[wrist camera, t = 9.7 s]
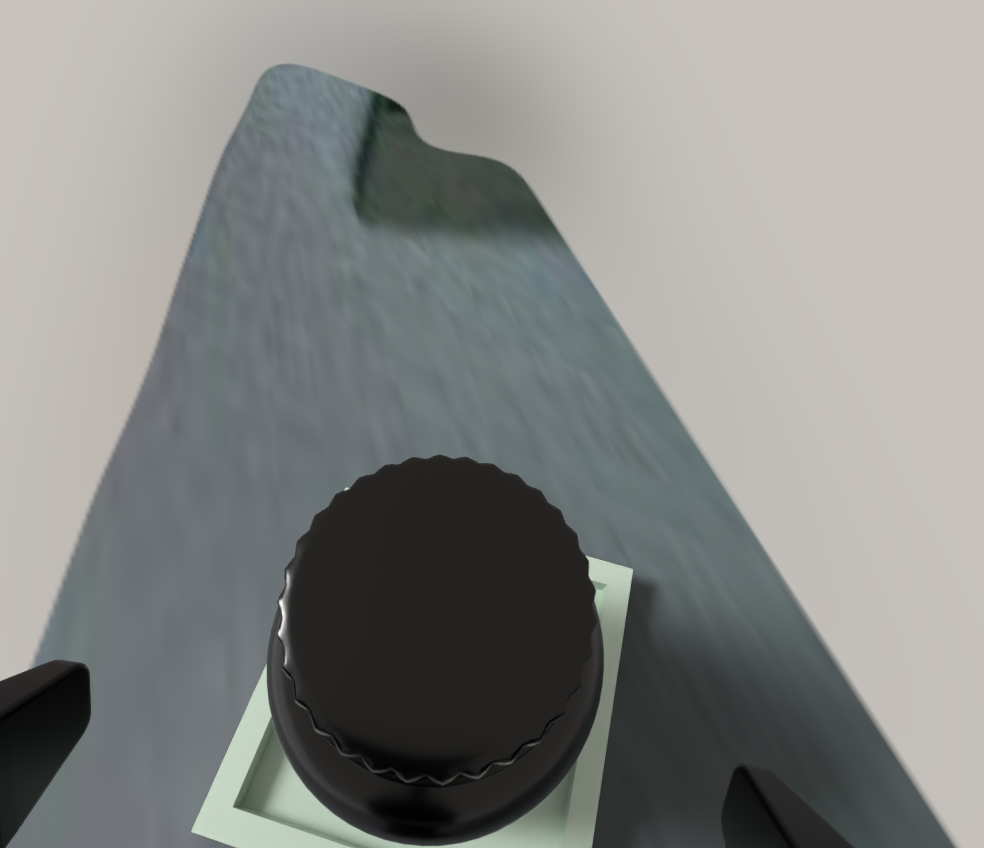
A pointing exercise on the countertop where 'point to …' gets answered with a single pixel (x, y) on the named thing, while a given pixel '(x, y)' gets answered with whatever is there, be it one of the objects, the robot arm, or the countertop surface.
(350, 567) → the supplement bottle
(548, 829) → the sage tray
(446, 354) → the countertop surface
